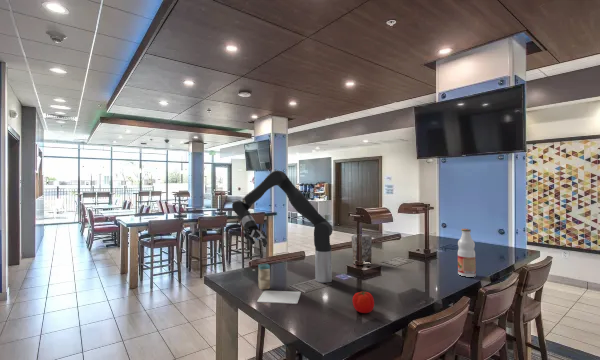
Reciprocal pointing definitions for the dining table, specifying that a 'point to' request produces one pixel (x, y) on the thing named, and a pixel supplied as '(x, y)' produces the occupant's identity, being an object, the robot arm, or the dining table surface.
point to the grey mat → (279, 297)
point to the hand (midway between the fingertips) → (259, 244)
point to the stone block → (365, 248)
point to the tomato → (363, 302)
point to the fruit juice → (466, 255)
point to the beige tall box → (263, 276)
